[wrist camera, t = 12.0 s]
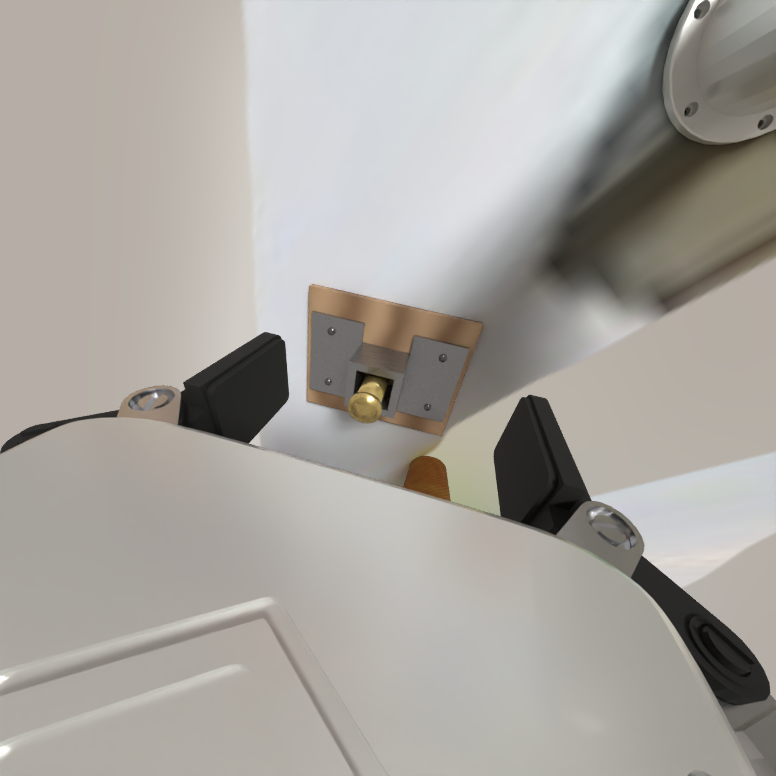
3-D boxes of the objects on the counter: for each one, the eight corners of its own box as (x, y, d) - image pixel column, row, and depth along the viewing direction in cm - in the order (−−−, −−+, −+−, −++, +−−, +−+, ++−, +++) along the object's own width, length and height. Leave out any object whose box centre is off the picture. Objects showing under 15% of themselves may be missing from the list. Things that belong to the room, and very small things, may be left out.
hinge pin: (398, 359, 38) (383, 399, 29) (392, 383, 40) (378, 426, 31) (371, 353, 38) (349, 391, 30) (367, 376, 40) (346, 418, 32)
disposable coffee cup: (467, 469, 47) (472, 537, 37) (431, 494, 52) (427, 560, 42) (423, 439, 46) (416, 501, 36) (390, 468, 51) (376, 530, 41)
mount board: (482, 322, 34) (483, 326, 33) (442, 431, 44) (441, 436, 43) (313, 284, 36) (309, 285, 35) (310, 396, 46) (307, 400, 45)
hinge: (469, 347, 35) (472, 368, 30) (442, 420, 42) (441, 447, 36) (313, 310, 36) (291, 325, 31) (311, 386, 43) (293, 408, 38)
